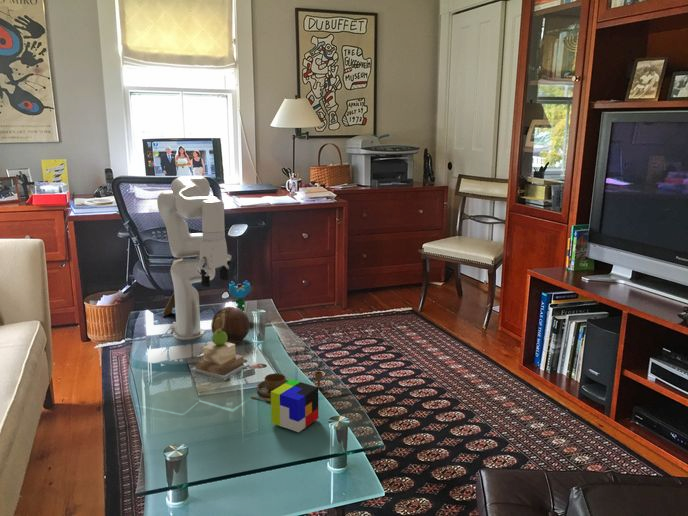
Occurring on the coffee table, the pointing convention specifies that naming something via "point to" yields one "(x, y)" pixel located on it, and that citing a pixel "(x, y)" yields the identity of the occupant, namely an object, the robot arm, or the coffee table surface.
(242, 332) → the wooden sphere
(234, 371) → the blueprint board
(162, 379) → the coffee table surface
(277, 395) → the puzzle toy
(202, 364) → the plinth
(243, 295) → the toy flower
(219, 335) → the snail figurine
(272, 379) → the place setting
